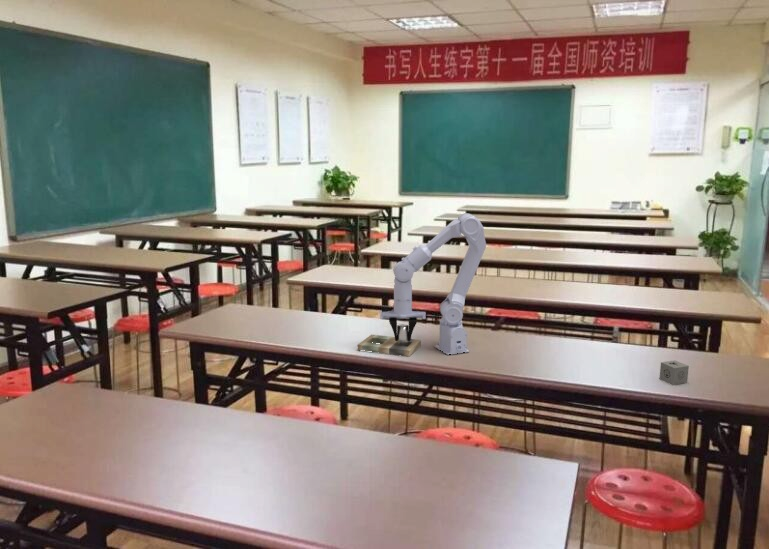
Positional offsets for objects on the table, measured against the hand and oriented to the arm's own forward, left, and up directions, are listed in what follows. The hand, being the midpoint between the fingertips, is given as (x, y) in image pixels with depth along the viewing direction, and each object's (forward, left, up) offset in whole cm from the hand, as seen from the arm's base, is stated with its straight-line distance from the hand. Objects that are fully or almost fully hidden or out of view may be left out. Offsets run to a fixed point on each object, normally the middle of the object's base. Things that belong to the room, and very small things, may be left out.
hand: (402, 340), depth 202 cm
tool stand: (+3, +3, -3) cm, 6 cm away
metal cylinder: (0, 0, -3) cm, 3 cm away
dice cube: (-55, -59, -3) cm, 80 cm away
